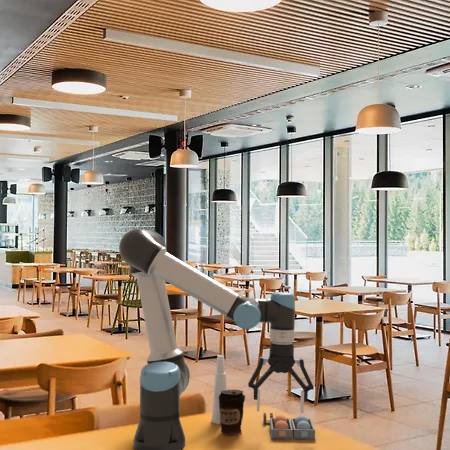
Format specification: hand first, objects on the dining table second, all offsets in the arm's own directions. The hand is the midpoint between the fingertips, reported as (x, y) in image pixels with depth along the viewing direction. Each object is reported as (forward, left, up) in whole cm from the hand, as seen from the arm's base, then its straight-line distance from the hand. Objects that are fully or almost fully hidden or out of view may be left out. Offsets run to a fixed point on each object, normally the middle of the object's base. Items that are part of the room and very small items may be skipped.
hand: (280, 411), depth 190 cm
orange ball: (0, 0, -5) cm, 5 cm away
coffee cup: (-15, +2, -8) cm, 17 cm away
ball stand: (-3, +13, -8) cm, 16 cm away
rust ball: (0, +6, -5) cm, 8 cm away
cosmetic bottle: (-19, +14, -8) cm, 25 cm away
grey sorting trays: (+4, +3, -8) cm, 9 cm away
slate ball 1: (+7, +6, -5) cm, 11 cm away
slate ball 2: (+7, 0, -5) cm, 9 cm away
